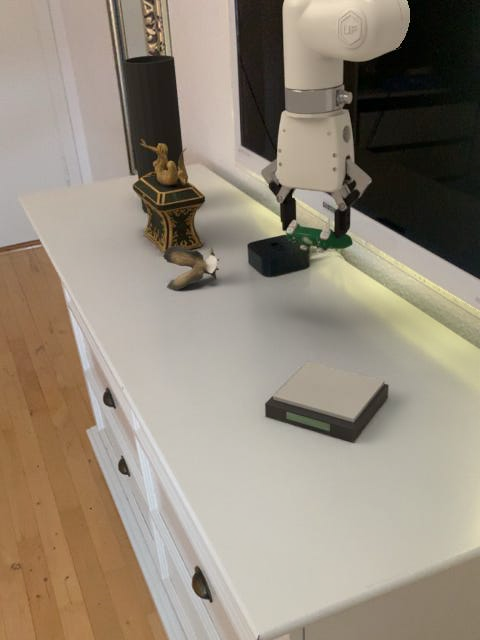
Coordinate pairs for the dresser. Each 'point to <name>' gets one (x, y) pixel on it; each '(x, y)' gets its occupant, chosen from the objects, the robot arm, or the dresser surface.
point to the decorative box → (169, 202)
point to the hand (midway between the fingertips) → (314, 230)
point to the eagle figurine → (190, 265)
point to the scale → (328, 401)
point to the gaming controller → (316, 237)
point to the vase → (153, 109)
